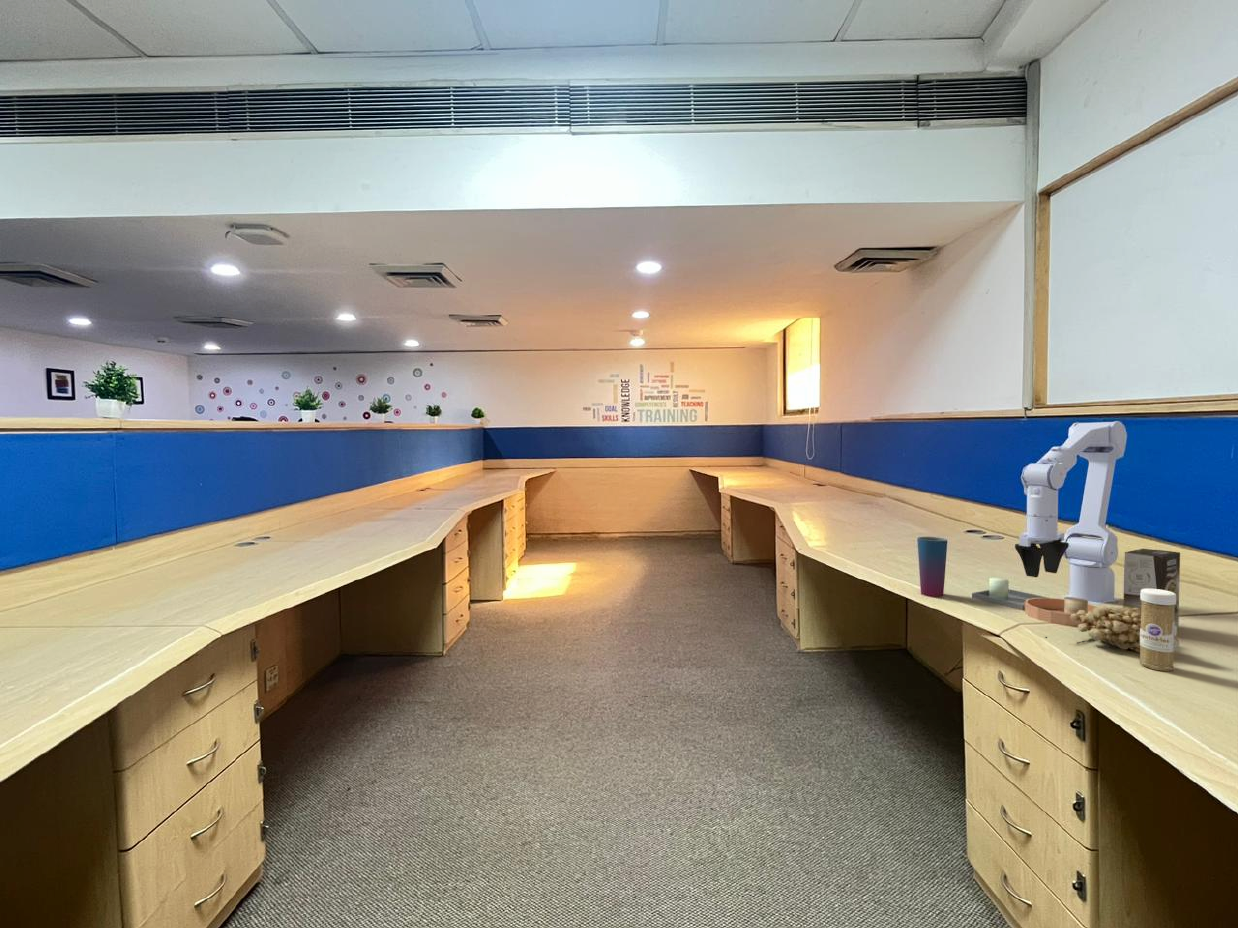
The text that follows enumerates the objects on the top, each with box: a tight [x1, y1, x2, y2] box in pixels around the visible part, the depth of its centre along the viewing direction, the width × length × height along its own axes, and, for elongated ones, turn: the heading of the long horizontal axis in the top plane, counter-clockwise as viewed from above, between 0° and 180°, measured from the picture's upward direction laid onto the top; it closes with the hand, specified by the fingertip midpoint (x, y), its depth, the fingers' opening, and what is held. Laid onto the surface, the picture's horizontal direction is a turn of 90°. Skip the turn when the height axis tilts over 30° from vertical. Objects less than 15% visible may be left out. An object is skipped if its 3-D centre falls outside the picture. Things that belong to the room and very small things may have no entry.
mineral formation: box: [1070, 606, 1181, 653], centre depth 111 cm, size 8×13×15 cm
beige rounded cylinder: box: [1063, 597, 1089, 614], centre depth 124 cm, size 4×4×4 cm
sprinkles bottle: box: [1138, 588, 1176, 672], centre depth 100 cm, size 5×5×14 cm
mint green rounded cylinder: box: [988, 577, 1010, 600], centre depth 143 cm, size 4×4×4 cm
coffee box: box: [1122, 548, 1181, 629], centre depth 120 cm, size 9×6×16 cm
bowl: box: [1024, 597, 1098, 627], centre depth 127 cm, size 13×13×3 cm
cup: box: [916, 536, 948, 598], centre depth 146 cm, size 7×7×15 cm
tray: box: [971, 588, 1049, 611], centre depth 140 cm, size 12×12×2 cm
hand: (1041, 574), depth 132 cm, fingers open, 7 cm apart
